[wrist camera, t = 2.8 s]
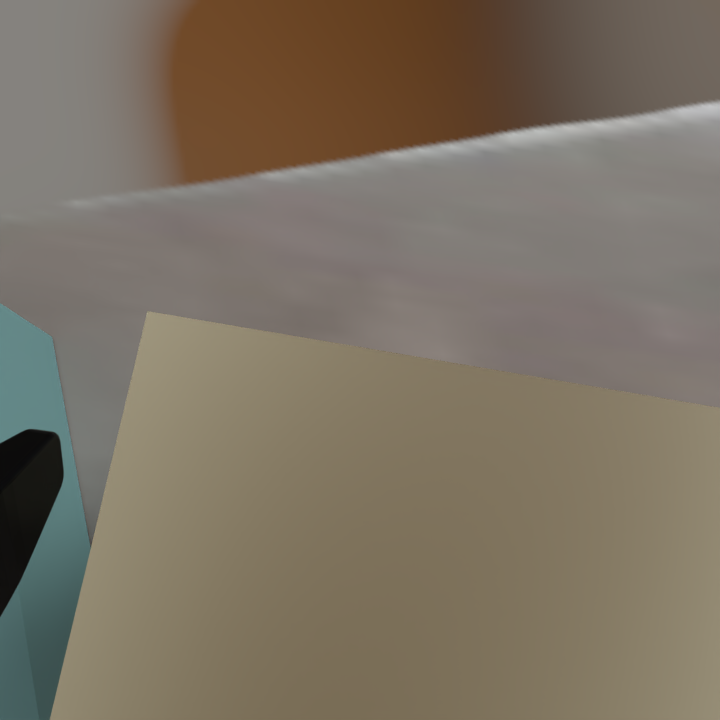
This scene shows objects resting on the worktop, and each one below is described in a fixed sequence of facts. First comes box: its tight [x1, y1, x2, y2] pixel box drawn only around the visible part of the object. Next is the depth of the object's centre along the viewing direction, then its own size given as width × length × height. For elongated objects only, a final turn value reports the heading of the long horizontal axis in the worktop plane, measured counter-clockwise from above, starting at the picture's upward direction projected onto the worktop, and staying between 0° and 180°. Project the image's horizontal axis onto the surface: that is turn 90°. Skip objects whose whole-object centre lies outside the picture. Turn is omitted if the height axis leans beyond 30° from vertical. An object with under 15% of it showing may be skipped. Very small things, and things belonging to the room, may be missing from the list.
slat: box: [50, 312, 720, 720], centre depth 10 cm, size 4×2×14 cm, turn 82°
